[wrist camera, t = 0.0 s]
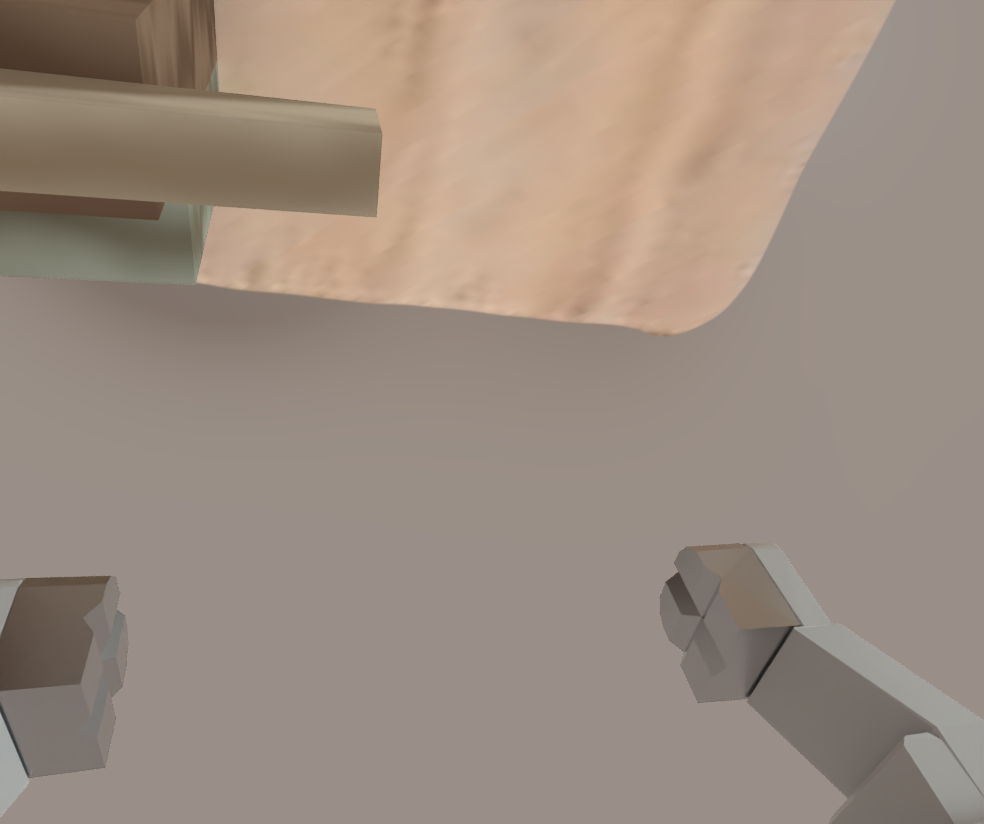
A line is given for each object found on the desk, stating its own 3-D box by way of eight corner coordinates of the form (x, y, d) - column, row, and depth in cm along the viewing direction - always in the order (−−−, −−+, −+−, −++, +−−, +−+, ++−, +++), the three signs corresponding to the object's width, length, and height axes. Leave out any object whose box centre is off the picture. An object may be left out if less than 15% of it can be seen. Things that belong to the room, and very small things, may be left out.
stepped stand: (-60, -108, 41) (-407, -50, 21) (209, -65, 44) (135, 19, 24) (0, 146, 49) (-208, 364, 29) (222, 165, 52) (175, 370, 32)
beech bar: (-207, 46, 23) (-264, 69, 21) (375, 108, 28) (382, 134, 25) (-171, 143, 25) (-220, 175, 22) (370, 186, 29) (376, 217, 27)
